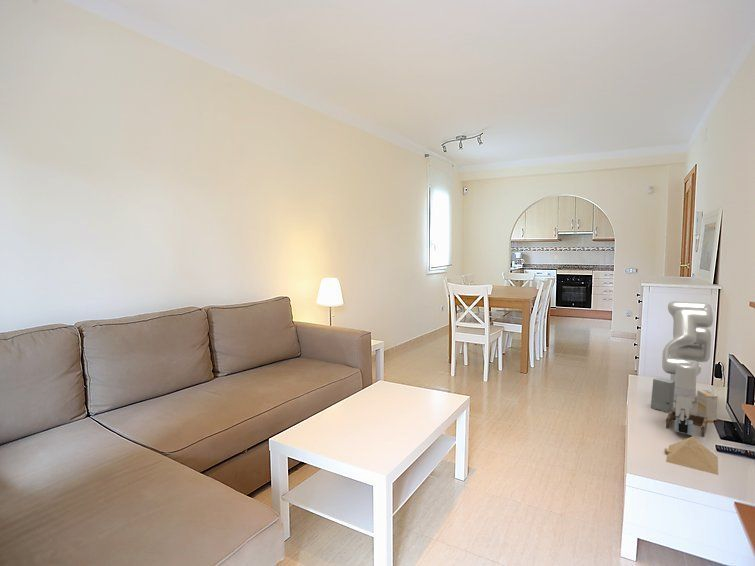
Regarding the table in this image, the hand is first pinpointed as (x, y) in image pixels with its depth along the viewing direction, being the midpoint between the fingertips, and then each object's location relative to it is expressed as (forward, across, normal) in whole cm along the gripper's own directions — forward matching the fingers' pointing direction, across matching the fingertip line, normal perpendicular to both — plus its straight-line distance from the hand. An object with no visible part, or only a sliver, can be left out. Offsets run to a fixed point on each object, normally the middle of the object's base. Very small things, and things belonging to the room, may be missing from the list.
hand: (683, 429), depth 182 cm
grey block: (+1, 0, 0) cm, 1 cm away
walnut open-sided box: (+2, -9, 0) cm, 9 cm away
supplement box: (+2, -27, +6) cm, 27 cm away
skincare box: (+2, -28, -12) cm, 30 cm away
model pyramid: (+3, +23, +5) cm, 24 cm away
